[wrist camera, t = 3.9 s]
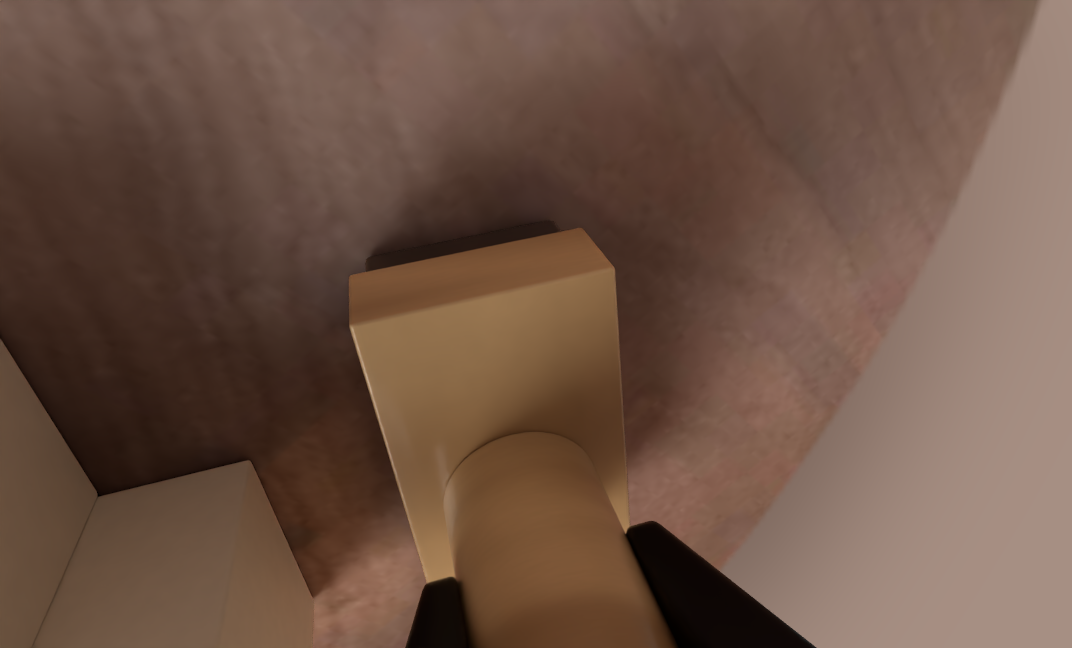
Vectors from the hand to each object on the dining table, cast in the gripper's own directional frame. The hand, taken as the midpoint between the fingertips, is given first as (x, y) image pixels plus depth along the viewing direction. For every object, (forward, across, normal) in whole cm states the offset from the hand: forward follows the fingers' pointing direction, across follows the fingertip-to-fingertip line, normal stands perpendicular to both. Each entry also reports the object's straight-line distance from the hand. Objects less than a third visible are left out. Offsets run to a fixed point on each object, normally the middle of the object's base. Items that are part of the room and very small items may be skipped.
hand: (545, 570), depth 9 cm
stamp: (+4, 0, 0) cm, 4 cm away
